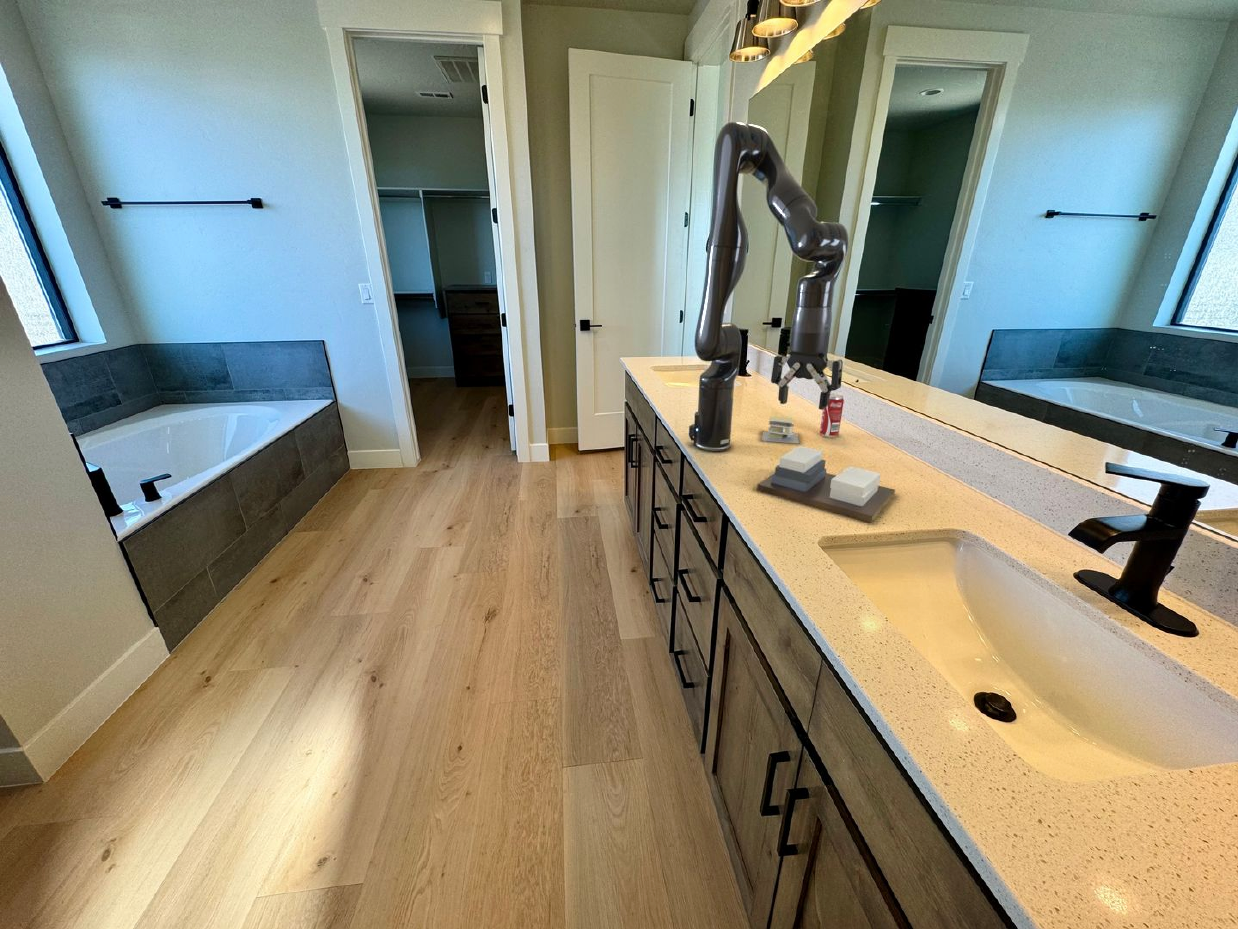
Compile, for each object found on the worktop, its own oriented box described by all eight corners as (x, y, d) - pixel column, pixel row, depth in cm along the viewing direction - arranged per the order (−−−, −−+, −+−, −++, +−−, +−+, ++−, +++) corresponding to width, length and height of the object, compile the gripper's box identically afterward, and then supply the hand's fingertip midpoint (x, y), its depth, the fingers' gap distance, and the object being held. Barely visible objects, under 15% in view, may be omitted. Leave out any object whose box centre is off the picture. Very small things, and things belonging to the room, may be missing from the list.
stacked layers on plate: (761, 440, 141) (763, 422, 139) (762, 431, 149) (764, 414, 147) (798, 443, 138) (801, 425, 136) (797, 434, 146) (799, 416, 144)
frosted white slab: (778, 466, 108) (779, 457, 107) (797, 454, 115) (798, 445, 114) (803, 473, 104) (805, 463, 104) (821, 459, 111) (822, 450, 110)
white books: (828, 497, 102) (830, 479, 101) (844, 482, 109) (847, 465, 108) (862, 506, 98) (866, 488, 97) (878, 490, 105) (881, 473, 104)
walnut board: (756, 490, 110) (757, 483, 109) (787, 469, 121) (788, 463, 120) (871, 523, 95) (872, 516, 94) (894, 495, 106) (895, 489, 105)
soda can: (817, 432, 148) (822, 392, 143) (835, 432, 147) (841, 393, 142) (821, 437, 143) (827, 397, 138) (840, 438, 142) (846, 397, 138)
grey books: (770, 483, 110) (772, 466, 108) (791, 468, 117) (793, 452, 116) (807, 493, 104) (809, 475, 103) (826, 477, 112) (829, 460, 111)
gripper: (852, 329, 99) (841, 407, 105) (785, 326, 108) (778, 398, 114) (840, 332, 94) (829, 414, 100) (770, 329, 103) (763, 404, 109)
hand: (802, 406), depth 107 cm, fingers open, 8 cm apart
